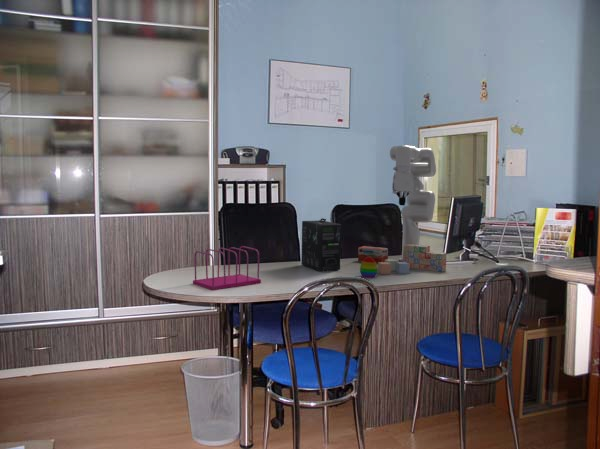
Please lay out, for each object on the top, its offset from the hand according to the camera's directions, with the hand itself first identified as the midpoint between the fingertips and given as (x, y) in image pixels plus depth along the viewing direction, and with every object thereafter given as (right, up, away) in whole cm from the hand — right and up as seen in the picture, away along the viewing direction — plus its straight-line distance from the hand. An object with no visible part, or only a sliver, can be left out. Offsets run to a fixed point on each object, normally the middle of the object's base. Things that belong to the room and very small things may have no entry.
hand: (402, 205), depth 280 cm
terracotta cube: (-11, -34, -14) cm, 39 cm away
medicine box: (-12, -31, +25) cm, 42 cm away
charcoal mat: (-8, -34, -9) cm, 36 cm away
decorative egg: (-20, -36, -23) cm, 47 cm away
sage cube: (-6, -33, -5) cm, 34 cm away
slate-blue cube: (-2, -34, -13) cm, 36 cm away
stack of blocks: (+12, -34, 0) cm, 36 cm away
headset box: (-42, -33, +3) cm, 54 cm away
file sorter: (-86, -37, -40) cm, 101 cm away
